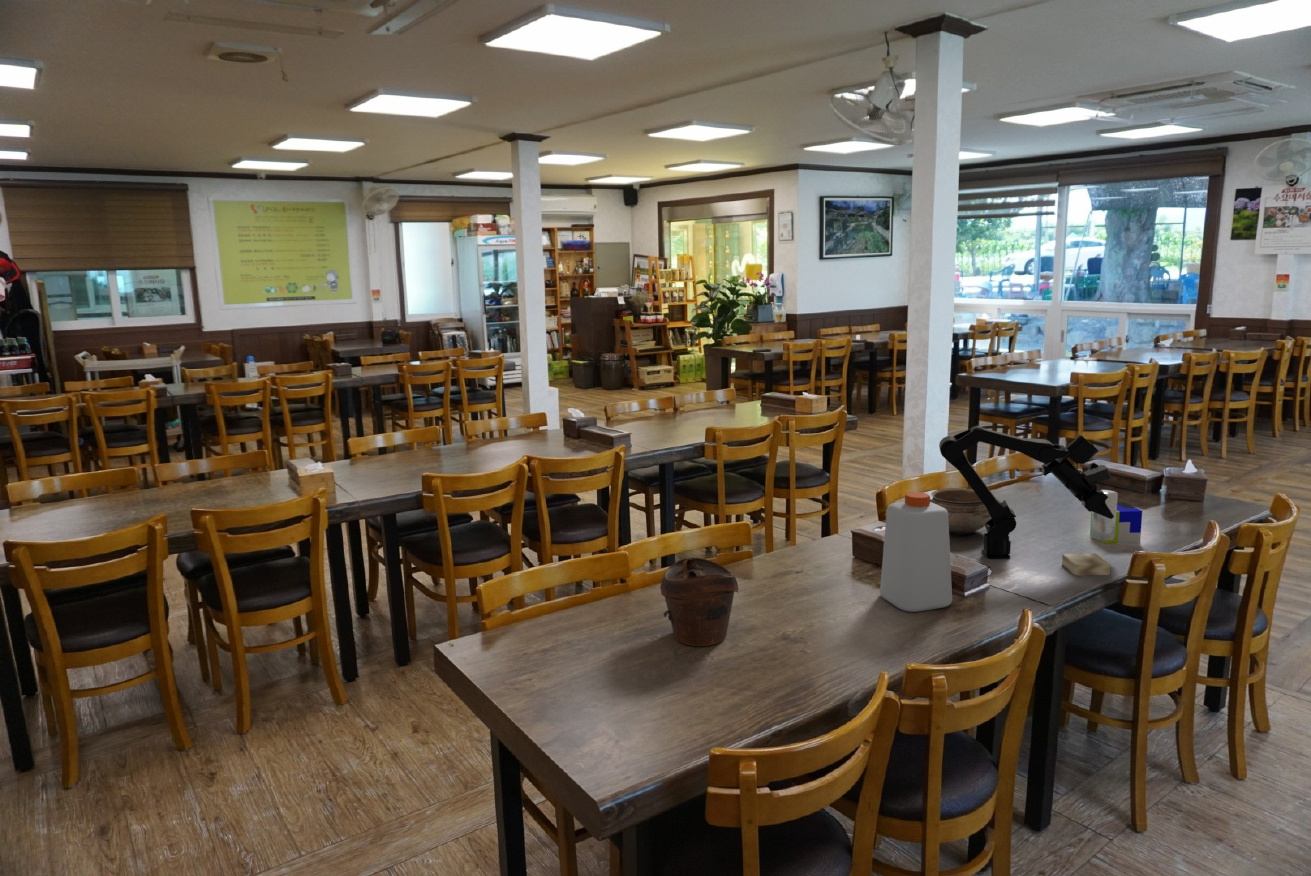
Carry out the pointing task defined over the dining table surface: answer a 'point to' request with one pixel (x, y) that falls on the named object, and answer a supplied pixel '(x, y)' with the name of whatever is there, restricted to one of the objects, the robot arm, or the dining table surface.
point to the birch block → (1086, 564)
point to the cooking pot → (962, 509)
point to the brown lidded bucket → (698, 600)
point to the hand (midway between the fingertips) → (1109, 514)
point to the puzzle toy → (1126, 524)
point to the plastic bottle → (916, 555)
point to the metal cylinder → (1105, 519)
